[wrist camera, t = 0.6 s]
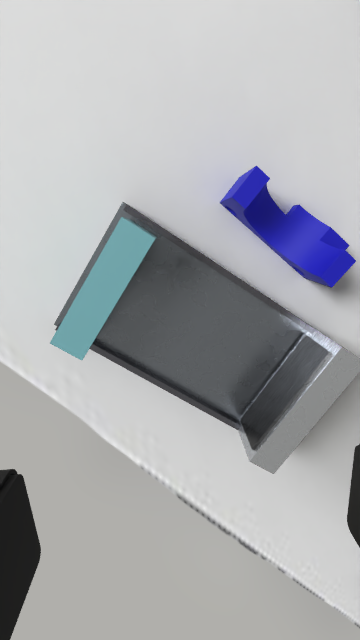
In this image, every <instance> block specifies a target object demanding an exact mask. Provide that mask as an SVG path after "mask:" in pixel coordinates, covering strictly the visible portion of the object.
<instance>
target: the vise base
mask: <svg viewBox="0 0 360 640" xmlns="http://www.w3.org/2000/svg"><path fill="white" fill-rule="evenodd" d="M121 217H124V218H127V219H130V220H132V221H133V222H135V223H136V224H138V225H139V226H141V227H142V228H144V229H145V230H147V231H148V232H150V233H151V234H153V235H155V236H156V237H157V238H156V239H155V241H154V243H153V244H152V246H151V248H150V249H149V251H148V253H147V254H146V256H145V258H144V259H143V261H142V263H141V264H140V266H139V268H138V269H137V271H136V272H135V274H134V276H133V277H132V279H131V281H130V282H129V284H128V286H127V287H126V289H125V291H124V292H123V294H122V296H121V297H120V299H119V301H118V302H117V304H116V306H115V307H114V309H113V311H112V312H111V314H110V316H109V317H108V319H107V321H106V322H105V324H104V326H103V327H102V329H101V331H100V332H99V334H98V336H97V337H96V339H95V340H94V342H93V344H92V345H91V347H90V348H89V349H91V350H93V351H95V352H96V353H98V354H100V355H102V356H104V357H106V358H107V359H109V360H111V361H113V362H115V363H117V364H118V365H120V366H122V367H124V368H126V369H127V370H129V371H131V372H133V373H135V374H137V375H138V376H140V377H142V378H144V379H146V380H148V381H149V382H151V383H153V384H155V385H157V386H158V387H160V388H162V389H164V390H166V391H168V392H169V393H171V394H173V395H175V396H177V397H179V398H180V399H182V400H184V401H186V402H188V403H189V404H191V405H193V406H195V407H197V408H199V409H200V410H202V411H204V412H206V413H208V414H209V415H211V416H213V417H215V418H217V419H219V420H220V421H222V422H224V423H226V424H228V425H230V426H231V427H233V428H235V429H237V430H238V432H239V434H240V437H241V440H242V442H243V445H244V448H245V450H246V453H247V456H248V459H249V461H250V462H252V463H254V464H255V465H257V466H259V467H261V468H263V469H265V470H267V471H269V472H271V473H272V474H274V473H275V472H276V471H277V470H278V468H279V467H280V466H281V465H282V464H283V462H284V461H285V460H286V459H287V458H288V457H289V455H290V454H291V453H292V452H293V451H294V449H295V448H296V447H297V446H298V445H299V443H300V442H301V441H302V440H303V439H304V437H305V436H306V435H307V434H308V433H309V431H310V430H311V429H312V428H313V427H314V426H315V424H316V423H317V422H318V421H319V420H320V418H321V417H322V416H323V415H324V414H325V412H326V411H327V410H328V409H329V408H330V406H331V405H332V404H333V403H334V402H335V401H336V399H337V398H338V397H339V396H340V395H341V393H342V392H343V391H344V390H345V389H346V387H347V386H348V385H349V384H350V383H351V381H352V380H353V379H354V378H355V377H356V375H357V374H358V373H359V372H360V358H359V357H357V356H356V355H354V354H353V353H351V352H350V351H348V350H347V349H345V348H343V347H342V346H340V345H339V344H337V343H336V342H334V341H333V340H331V339H330V338H328V337H327V336H325V335H324V334H322V333H321V332H319V331H318V330H316V329H315V328H313V327H312V326H310V325H309V324H307V323H305V322H304V321H302V320H301V319H299V318H298V317H296V316H295V315H293V314H292V313H290V312H289V311H287V310H286V309H284V308H283V307H281V306H280V305H278V304H277V303H275V302H274V301H272V300H271V299H269V298H268V297H266V296H265V295H263V294H262V293H260V292H259V291H257V290H256V289H254V288H253V287H251V286H250V285H248V284H247V283H245V282H244V281H242V280H241V279H239V278H237V277H236V276H234V275H233V274H231V273H230V272H228V271H227V270H225V269H224V268H222V267H221V266H219V265H218V264H216V263H215V262H213V261H212V260H210V259H209V258H207V257H206V256H204V255H203V254H201V253H200V252H198V251H197V250H195V249H194V248H192V247H191V246H189V245H188V244H186V243H185V242H183V241H182V240H180V239H179V238H177V237H176V236H174V235H172V234H171V233H169V232H168V231H166V230H165V229H163V228H162V227H160V226H159V225H157V224H156V223H154V222H153V221H151V220H150V219H148V218H147V217H145V216H144V215H142V214H141V213H139V212H138V211H136V210H135V209H133V208H132V207H130V206H129V205H127V204H126V203H124V202H123V203H122V204H121V206H120V208H119V210H118V212H117V213H116V215H115V217H114V219H113V220H112V222H111V224H110V226H109V228H108V229H107V231H106V233H105V235H104V236H103V238H102V240H101V242H100V244H99V245H98V247H97V249H96V251H95V252H94V254H93V256H92V258H91V260H90V261H89V263H88V265H87V267H86V268H85V270H84V272H83V274H82V276H81V277H80V279H79V281H78V283H77V284H76V286H75V288H74V290H73V292H72V293H71V295H70V297H69V299H68V300H67V302H66V304H65V306H64V308H63V309H62V311H61V313H60V315H59V316H58V318H57V320H56V322H55V324H54V325H56V326H57V328H56V329H55V330H56V331H57V330H58V328H59V326H60V324H61V323H62V321H63V319H64V317H65V316H66V314H67V312H68V310H69V309H70V307H71V305H72V303H73V302H74V300H75V298H76V296H77V294H78V293H79V291H80V289H81V287H82V286H83V284H84V282H85V280H86V279H87V277H88V275H89V273H90V272H91V270H92V268H93V266H94V265H95V263H96V261H97V259H98V257H99V256H100V254H101V252H102V250H103V249H104V247H105V245H106V243H107V242H108V240H109V238H110V236H111V235H112V233H113V231H114V229H115V228H116V226H117V224H118V222H119V220H120V219H121Z"/></svg>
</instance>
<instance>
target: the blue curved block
mask: <svg viewBox="0 0 360 640" xmlns="http://www.w3.org/2000/svg"><path fill="white" fill-rule="evenodd" d="M269 179H270V178H269V177H268V176H267V175H266V174H265V173H264V172H263V171H262V170H261V169H260V168H258V167H257V166H255V167H254V168H252V169H251V170H250V171H248V172H247V173H245V174H244V175H242V176H241V177H239V179H238V180H237V181H236V182H235V184H234V185H233V186H232V188H231V189H230V190H229V191H228V193H227V194H226V195H225V197H224V198H223V199H222V200H221V202H220V203H221V204H222V205H223V206H224V207H225V208H226V209H227V210H228V211H230V212H231V213H232V214H233V215H234V216H235V217H236V218H237V219H239V220H240V221H241V222H242V223H243V224H244V225H245V226H246V227H248V228H249V229H250V230H251V231H252V232H253V233H254V234H255V235H257V236H258V237H259V238H260V239H261V240H262V241H263V242H264V243H266V244H267V245H268V246H269V247H270V248H271V249H272V250H273V251H275V252H276V253H277V254H278V255H279V256H280V257H281V258H282V259H284V260H285V261H286V262H287V263H288V264H289V265H290V266H291V267H293V268H294V269H295V270H296V271H297V272H298V273H299V274H300V275H301V276H303V277H304V278H306V279H309V280H312V281H315V282H317V283H320V284H323V285H326V286H329V287H333V286H334V285H335V283H336V282H337V281H338V280H339V279H340V278H341V277H342V276H343V275H344V274H345V273H346V272H347V270H348V269H349V268H350V267H351V266H352V265H353V264H354V263H355V262H356V260H355V259H354V258H353V257H352V256H351V255H350V254H349V253H348V252H346V251H345V250H346V249H347V248H348V246H349V245H348V244H347V243H346V242H345V241H344V240H343V239H342V238H341V237H340V236H339V235H338V234H337V233H336V232H335V231H334V230H333V229H332V228H331V227H329V226H327V225H325V224H324V223H322V222H321V221H319V220H318V219H316V218H315V217H313V216H312V215H311V214H309V213H308V212H307V211H306V210H304V209H303V208H302V207H301V206H300V205H295V206H293V207H292V208H291V210H290V211H289V212H288V213H287V214H286V215H285V214H284V213H283V212H282V210H281V209H280V208H279V207H278V206H277V205H276V203H275V202H274V201H273V199H272V198H271V196H270V194H269V192H268V190H267V182H268V181H269Z"/></svg>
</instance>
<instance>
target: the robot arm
mask: <svg viewBox="0 0 360 640" xmlns="http://www.w3.org/2000/svg"><path fill="white" fill-rule="evenodd" d="M347 522H348V527H349V530H350V532H351V534H352V536H353V537H354V539H355V541H356V542H357V544H358V545H359V547H360V445H358V446H356V447H355V452H354V461H353V470H352V479H351V488H350V497H349V506H348V515H347ZM40 551H41V548H40V543H39V539H38V535H37V531H36V527H35V523H34V519H33V515H32V511H31V507H30V502H29V498H28V494H27V490H26V486H25V482H24V478H23V476H22V475H21V474H17V472H16V470H15V469H9V470H0V640H10V638H11V635H12V633H13V630H14V627H15V625H16V622H17V619H18V617H19V614H20V611H21V608H22V606H23V603H24V601H25V598H26V595H27V593H28V590H29V587H30V585H31V582H32V579H33V577H34V574H35V571H36V569H37V566H38V563H39V560H40V553H41V552H40Z"/></svg>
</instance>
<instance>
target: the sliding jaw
mask: <svg viewBox="0 0 360 640" xmlns="http://www.w3.org/2000/svg"><path fill="white" fill-rule="evenodd" d="M156 238H157V237H156V236H155V235H153V234H151V233H150V232H148V231H147V230H145V229H144V228H142V227H141V226H139V225H138V224H136V223H135V222H133V221H132V220H130V219H127V218H124V217H121V219H120V220H119V222H118V224H117V226H116V228H115V229H114V231H113V233H112V235H111V236H110V238H109V240H108V242H107V243H106V245H105V247H104V249H103V250H102V252H101V254H100V256H99V257H98V259H97V261H96V263H95V265H94V266H93V268H92V270H91V272H90V273H89V275H88V277H87V279H86V280H85V282H84V284H83V286H82V287H81V289H80V291H79V293H78V294H77V296H76V298H75V300H74V302H73V303H72V305H71V307H70V309H69V310H68V312H67V314H66V316H65V317H64V319H63V321H62V323H61V324H60V326H59V328H58V330H57V331H56V333H55V335H54V337H53V338H52V340H51V342H50V344H52V345H54V346H56V347H58V348H60V349H62V350H63V351H65V352H67V353H69V354H71V355H73V356H75V357H76V358H78V359H80V360H83V358H84V356H85V355H86V353H87V352H88V350H89V348H90V347H91V345H92V344H93V342H94V340H95V339H96V337H97V336H98V334H99V332H100V331H101V329H102V327H103V326H104V324H105V322H106V321H107V319H108V317H109V316H110V314H111V312H112V311H113V309H114V307H115V306H116V304H117V302H118V301H119V299H120V297H121V296H122V294H123V292H124V291H125V289H126V287H127V286H128V284H129V282H130V281H131V279H132V277H133V276H134V274H135V272H136V271H137V269H138V268H139V266H140V264H141V263H142V261H143V259H144V258H145V256H146V254H147V253H148V251H149V249H150V248H151V246H152V244H153V243H154V241H155V239H156Z"/></svg>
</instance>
